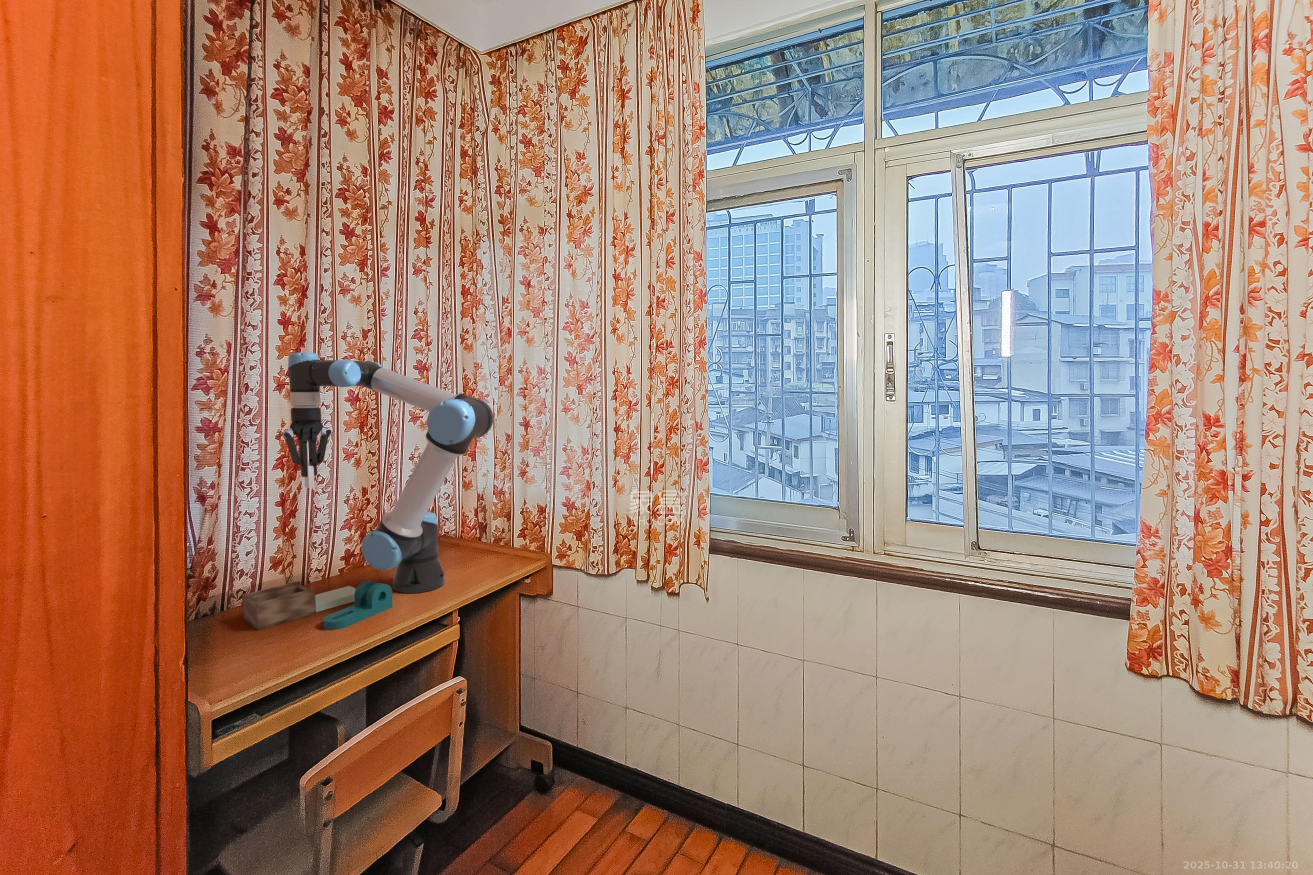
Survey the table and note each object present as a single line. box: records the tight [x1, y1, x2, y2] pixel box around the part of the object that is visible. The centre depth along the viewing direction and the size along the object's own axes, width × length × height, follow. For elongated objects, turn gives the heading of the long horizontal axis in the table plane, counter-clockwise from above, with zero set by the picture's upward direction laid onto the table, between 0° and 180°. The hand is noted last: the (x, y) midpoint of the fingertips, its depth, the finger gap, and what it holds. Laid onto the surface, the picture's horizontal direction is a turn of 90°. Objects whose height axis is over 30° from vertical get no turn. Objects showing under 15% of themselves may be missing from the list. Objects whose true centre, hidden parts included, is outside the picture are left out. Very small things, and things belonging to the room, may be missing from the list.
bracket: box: [322, 580, 394, 631], centre depth 162 cm, size 18×7×8 cm, turn 155°
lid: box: [315, 585, 357, 613], centre depth 173 cm, size 13×8×2 cm, turn 142°
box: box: [241, 580, 317, 631], centre depth 161 cm, size 14×10×7 cm
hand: (309, 487), depth 175 cm, fingers closed
